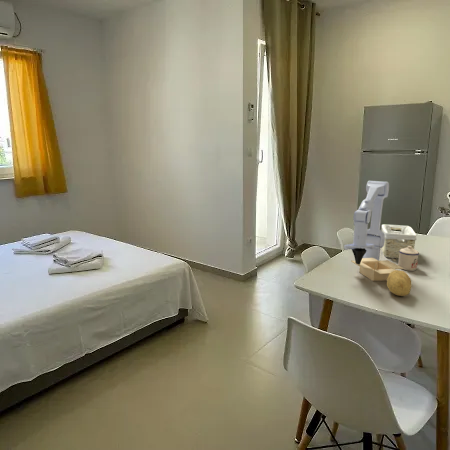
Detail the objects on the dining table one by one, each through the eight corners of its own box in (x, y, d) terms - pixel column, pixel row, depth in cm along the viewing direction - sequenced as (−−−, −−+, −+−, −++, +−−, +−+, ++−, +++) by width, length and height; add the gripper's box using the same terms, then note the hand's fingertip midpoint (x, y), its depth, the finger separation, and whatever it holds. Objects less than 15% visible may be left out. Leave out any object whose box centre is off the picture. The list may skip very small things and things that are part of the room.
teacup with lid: (414, 272, 180) (417, 249, 178) (395, 268, 186) (397, 246, 184) (420, 266, 190) (423, 244, 187) (401, 262, 195) (404, 241, 193)
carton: (354, 268, 185) (355, 253, 183) (380, 267, 187) (382, 252, 186) (379, 285, 164) (380, 268, 162) (409, 283, 166) (411, 266, 164)
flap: (360, 261, 178) (360, 262, 178) (351, 260, 177) (351, 261, 177) (372, 268, 168) (372, 269, 168) (363, 267, 167) (362, 268, 167)
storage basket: (414, 261, 199) (417, 234, 196) (382, 258, 204) (385, 232, 200) (407, 249, 221) (410, 225, 218) (378, 246, 226) (381, 223, 223)
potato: (413, 291, 157) (415, 270, 155) (407, 302, 146) (409, 280, 144) (388, 285, 163) (390, 265, 161) (380, 296, 151) (382, 274, 149)
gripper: (350, 238, 164) (347, 266, 167) (379, 237, 167) (376, 265, 170) (342, 234, 171) (340, 262, 174) (370, 233, 174) (368, 260, 177)
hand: (357, 263), depth 172 cm, fingers closed
